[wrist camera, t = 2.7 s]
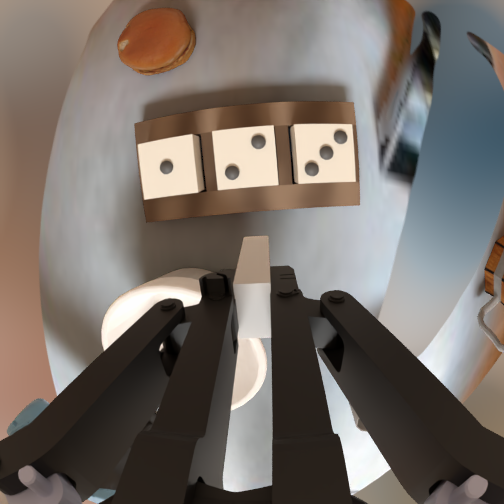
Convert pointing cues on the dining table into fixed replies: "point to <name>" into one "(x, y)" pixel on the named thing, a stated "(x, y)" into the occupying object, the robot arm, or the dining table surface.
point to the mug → (494, 288)
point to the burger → (156, 41)
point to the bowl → (188, 291)
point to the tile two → (245, 157)
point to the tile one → (171, 166)
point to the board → (286, 191)
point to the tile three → (323, 153)
